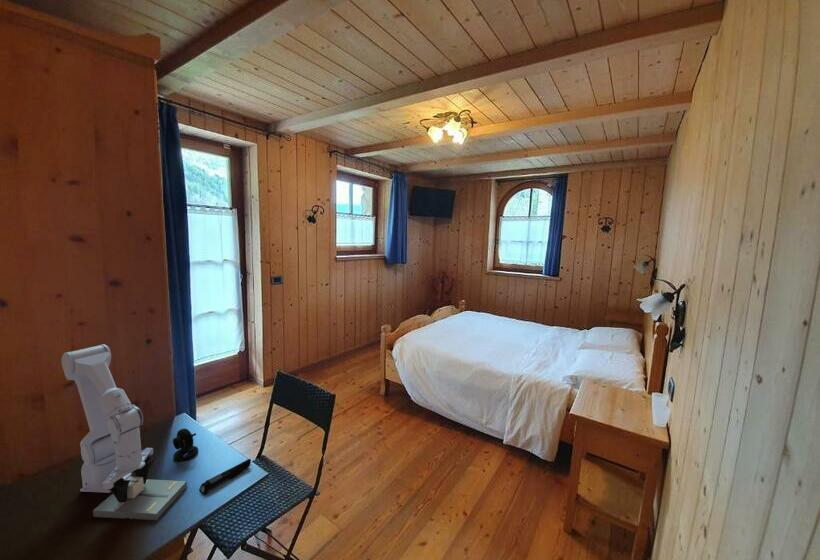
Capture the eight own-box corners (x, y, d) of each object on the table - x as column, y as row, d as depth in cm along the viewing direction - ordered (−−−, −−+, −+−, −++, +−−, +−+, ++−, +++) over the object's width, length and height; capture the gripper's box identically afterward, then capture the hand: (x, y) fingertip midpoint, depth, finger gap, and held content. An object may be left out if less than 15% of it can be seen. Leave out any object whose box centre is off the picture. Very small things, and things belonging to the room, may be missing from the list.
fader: (120, 497, 95) (119, 484, 94) (130, 488, 98) (129, 476, 98) (134, 498, 95) (132, 485, 94) (144, 489, 98) (143, 476, 98)
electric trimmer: (253, 469, 112) (253, 460, 111) (203, 497, 99) (203, 487, 99) (247, 464, 114) (247, 456, 113) (198, 491, 101) (198, 481, 101)
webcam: (168, 457, 115) (166, 431, 114) (190, 445, 122) (189, 421, 120) (180, 465, 112) (179, 438, 110) (203, 452, 118) (201, 427, 117)
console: (93, 516, 91) (92, 510, 91) (131, 484, 103) (130, 478, 103) (156, 520, 91) (156, 513, 90) (186, 486, 102) (186, 480, 102)
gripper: (119, 468, 87) (123, 513, 89) (161, 435, 102) (164, 474, 103) (93, 467, 87) (98, 512, 89) (139, 434, 102) (142, 473, 104)
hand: (132, 492), depth 96 cm, fingers open, 6 cm apart
